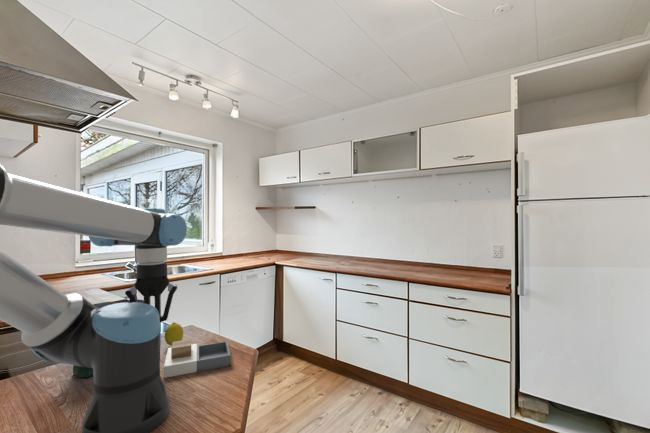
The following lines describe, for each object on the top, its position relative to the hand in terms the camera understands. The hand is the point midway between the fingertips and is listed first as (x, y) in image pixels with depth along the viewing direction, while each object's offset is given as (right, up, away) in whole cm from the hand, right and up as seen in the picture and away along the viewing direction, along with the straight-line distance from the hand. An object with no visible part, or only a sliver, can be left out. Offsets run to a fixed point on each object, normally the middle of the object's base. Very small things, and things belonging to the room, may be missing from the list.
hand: (153, 346), depth 85 cm
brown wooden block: (+7, -3, +3) cm, 8 cm away
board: (+7, -6, +3) cm, 10 cm away
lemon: (-2, -7, +15) cm, 17 cm away
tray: (+15, -6, +5) cm, 17 cm away
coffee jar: (-16, -7, 0) cm, 17 cm away
